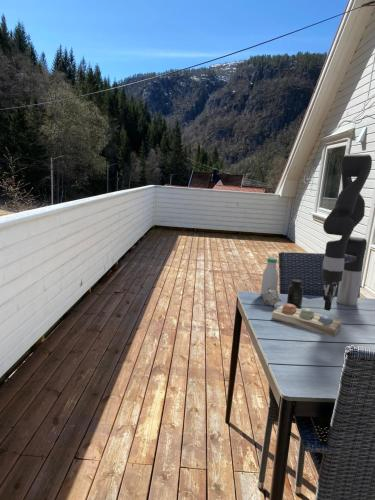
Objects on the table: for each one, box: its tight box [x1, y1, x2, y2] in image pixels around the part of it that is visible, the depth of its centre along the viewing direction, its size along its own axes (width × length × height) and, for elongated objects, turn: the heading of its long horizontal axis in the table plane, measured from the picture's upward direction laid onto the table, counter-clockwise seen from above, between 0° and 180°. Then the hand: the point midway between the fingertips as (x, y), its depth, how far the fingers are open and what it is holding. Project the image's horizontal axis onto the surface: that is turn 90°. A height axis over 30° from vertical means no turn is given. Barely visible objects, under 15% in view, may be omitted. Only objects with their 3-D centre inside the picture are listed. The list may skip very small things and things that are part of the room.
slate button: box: [318, 314, 333, 324], centre depth 136 cm, size 5×5×3 cm
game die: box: [260, 288, 282, 308], centre depth 158 cm, size 9×8×10 cm
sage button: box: [300, 307, 315, 319], centre depth 140 cm, size 5×5×3 cm
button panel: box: [271, 304, 343, 337], centre depth 140 cm, size 12×25×3 cm, turn 54°
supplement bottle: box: [286, 278, 304, 308], centre depth 161 cm, size 7×7×12 cm
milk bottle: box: [260, 257, 279, 298], centre depth 170 cm, size 8×8×20 cm
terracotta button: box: [282, 303, 297, 314], centre depth 144 cm, size 5×5×3 cm
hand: (327, 309), depth 135 cm, fingers closed
